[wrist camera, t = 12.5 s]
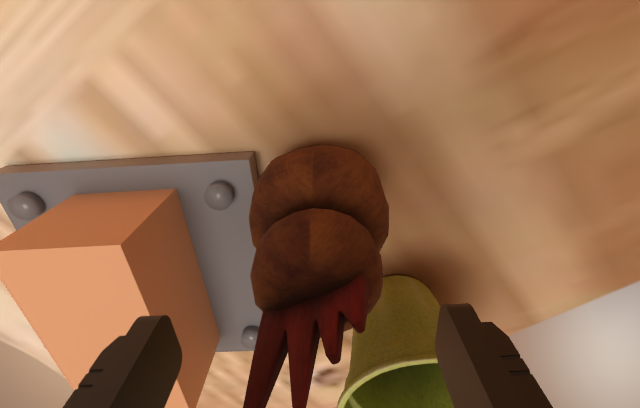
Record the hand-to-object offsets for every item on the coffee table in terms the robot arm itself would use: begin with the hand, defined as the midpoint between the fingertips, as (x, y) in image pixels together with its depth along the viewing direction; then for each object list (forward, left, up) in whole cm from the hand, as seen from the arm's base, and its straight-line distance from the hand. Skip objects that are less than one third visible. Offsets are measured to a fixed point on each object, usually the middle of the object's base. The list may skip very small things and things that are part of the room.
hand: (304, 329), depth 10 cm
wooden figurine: (0, 0, -13) cm, 13 cm away
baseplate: (+12, +6, -12) cm, 18 cm away
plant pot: (-5, +11, -13) cm, 18 cm away
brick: (+12, +6, -11) cm, 17 cm away
